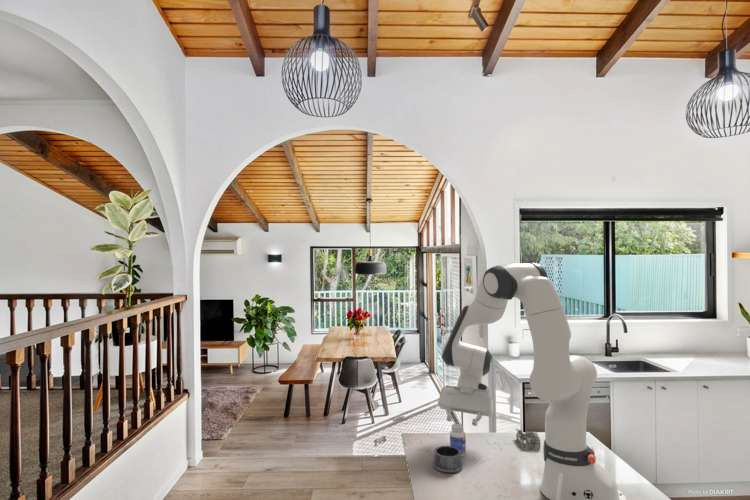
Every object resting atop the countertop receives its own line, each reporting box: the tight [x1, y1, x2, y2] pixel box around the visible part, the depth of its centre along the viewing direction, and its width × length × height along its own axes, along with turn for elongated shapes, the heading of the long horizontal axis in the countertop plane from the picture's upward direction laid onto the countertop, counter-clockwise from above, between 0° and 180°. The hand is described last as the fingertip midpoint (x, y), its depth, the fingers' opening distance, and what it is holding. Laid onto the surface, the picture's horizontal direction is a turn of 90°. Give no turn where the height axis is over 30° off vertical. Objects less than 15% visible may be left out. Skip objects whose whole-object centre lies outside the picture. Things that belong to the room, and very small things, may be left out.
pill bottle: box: [449, 423, 467, 457], centre depth 154 cm, size 5×5×10 cm
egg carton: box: [515, 427, 542, 451], centre depth 162 cm, size 11×8×4 cm
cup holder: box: [432, 445, 464, 475], centre depth 144 cm, size 10×10×5 cm
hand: (461, 422), depth 158 cm, fingers open, 8 cm apart
